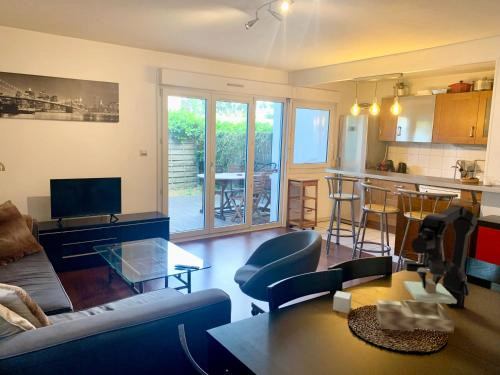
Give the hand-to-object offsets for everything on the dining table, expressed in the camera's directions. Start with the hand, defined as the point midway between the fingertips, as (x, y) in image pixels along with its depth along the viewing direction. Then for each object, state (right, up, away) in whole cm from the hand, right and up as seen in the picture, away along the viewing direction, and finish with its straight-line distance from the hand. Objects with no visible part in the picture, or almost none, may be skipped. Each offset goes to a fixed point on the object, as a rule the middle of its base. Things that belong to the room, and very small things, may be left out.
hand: (428, 288), depth 143 cm
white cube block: (-31, -11, +10) cm, 34 cm away
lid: (0, -3, 0) cm, 2 cm away
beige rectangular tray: (-7, -13, +1) cm, 14 cm away
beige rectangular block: (-16, -7, -3) cm, 18 cm away
